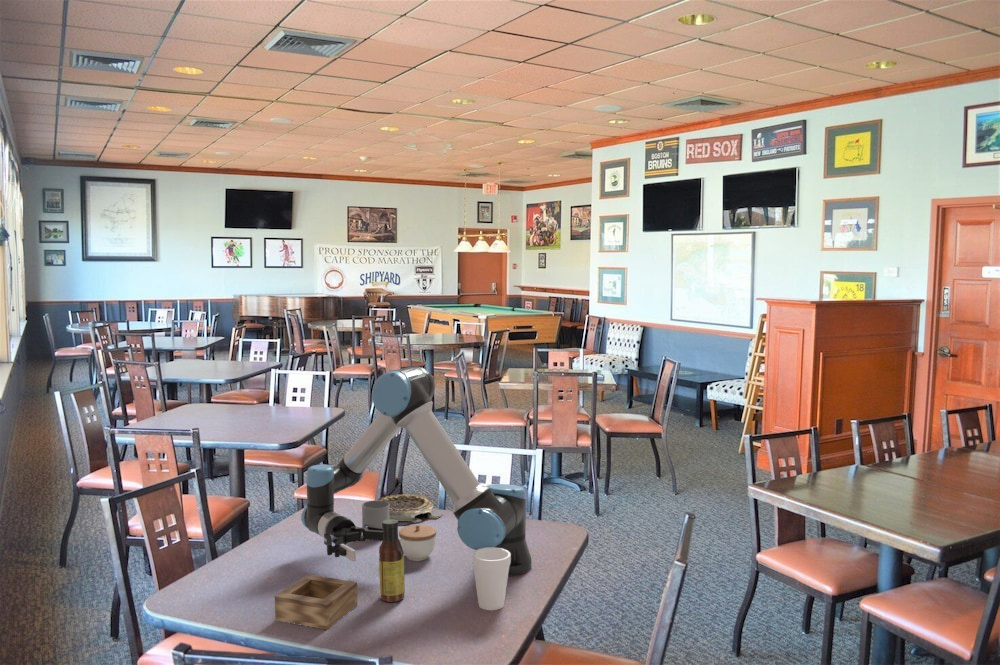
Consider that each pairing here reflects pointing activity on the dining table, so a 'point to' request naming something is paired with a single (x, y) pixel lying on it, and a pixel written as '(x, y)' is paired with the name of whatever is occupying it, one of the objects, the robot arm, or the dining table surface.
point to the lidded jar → (417, 541)
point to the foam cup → (491, 576)
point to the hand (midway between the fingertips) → (377, 550)
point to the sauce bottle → (391, 563)
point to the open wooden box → (316, 601)
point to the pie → (408, 507)
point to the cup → (374, 513)
